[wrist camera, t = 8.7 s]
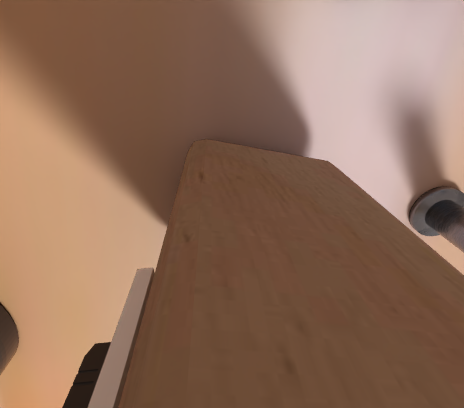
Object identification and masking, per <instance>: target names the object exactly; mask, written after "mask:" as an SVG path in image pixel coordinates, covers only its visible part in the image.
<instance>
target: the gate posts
mask: <svg viewBox="0 0 464 408" xmlns="http://www.w3.org/2000/svg"><path fill="white" fill-rule="evenodd" d="M409 221H410V224H411V226H412V227H413V228H414V229H415V230H416V231H418V232H419V233H420V234H422V235H425V236H437V235H441V236H443V237H444V238H445V239H447V240H448V241H449V242H451V243H452V244H453V245H455V246H456V247H457V248H459V249H460V250H461V251H463V252H464V193H462V192H461V191H459V190H457V189H455V188H453V187H448V186H443V187H438V188H434V189H432V190H430V191H428V192H426V193H425V194H423V195H422V196H421V197H420V198H419V199H418V200H417V201H416V202H415V203H414V205H413V206H412V208H411V211H410V215H409Z"/></svg>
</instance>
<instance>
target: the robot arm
mask: <svg viewBox="0 0 464 408" xmlns="http://www.w3.org/2000/svg"><path fill="white" fill-rule="evenodd" d="M154 275H155V273H154V269H153V268H144V269H137V272H136V275H135V278H134V280H133V283H132V286H131V289H130V292H129V294H128V297H127V300H126V303H125V305H124V308H123V311H122V314H121V317H120V319H119V322H118V325H117V328H116V330H115V333H114V336H113V339H112V341H111V342H107V343H97V344H94V346H93V347H92V348H91V349H90V351H89V352H88V353H87V354H86V355H85V357H84V359H83V361H82V364H81V366H80V368H79V371H78V374H77V375H76V377H75V380H74V382H73V386H72V387H71V389H70V391H69V394H68V396H67V398H66V400H65V403H64V405H63V407H62V408H118V407H119V403H120V400H121V396H122V392H123V389H124V385H125V381H126V378H127V374H128V370H129V367H130V363H131V359H132V356H133V352H134V348H135V345H136V341H137V337H138V334H139V330H140V326H141V323H142V319H143V315H144V311H145V308H146V304H147V300H148V297H149V293H150V289H151V286H152V282H153V278H154ZM18 343H19V337H18V331H17V328H16V326H15V324H14V322H13V320H12V318H11V317H10V315H9V314H8V313H7V312H6V310H5V309H4V308H3V307H2V306H1V305H0V375H1V373H2V372H3V370H4V369H5V368H6V366H7V365H8V363H9V362H10V360H11V359H12V357H13V356H14V354H15V353H16V350H17V348H18Z"/></svg>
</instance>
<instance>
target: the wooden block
mask: <svg viewBox="0 0 464 408" xmlns="http://www.w3.org/2000/svg"><path fill="white" fill-rule="evenodd" d="M118 408H464V275H463V274H462V273H460V272H459V271H458V270H457V269H456V268H454V267H453V266H452V265H451V264H450V263H449V262H447V261H446V260H445V259H444V258H443V257H442V256H440V255H439V254H438V253H437V252H436V251H434V250H433V249H432V248H431V247H430V246H429V245H427V244H426V243H425V242H424V241H423V240H422V239H420V238H419V237H418V236H417V235H416V234H414V233H413V232H412V231H411V230H410V229H409V228H407V227H406V226H405V225H404V224H403V223H402V222H400V221H399V220H398V219H397V218H396V217H394V216H393V215H392V214H391V213H390V212H389V211H387V210H386V209H385V208H384V207H383V206H382V205H380V204H379V203H378V202H377V201H376V200H374V199H373V198H372V197H371V196H370V195H369V194H367V193H366V192H365V191H364V190H363V189H361V188H360V187H359V186H358V185H357V184H356V183H354V182H353V181H352V180H351V179H350V178H349V177H347V176H346V175H345V174H344V173H343V172H341V171H340V170H339V169H338V168H337V167H335V166H334V165H333V164H331V163H330V162H328V161H324V160H319V159H313V158H308V157H303V156H297V155H292V154H286V153H281V152H275V151H270V150H264V149H259V148H253V147H248V146H242V145H237V144H231V143H226V142H220V141H215V140H209V139H204V140H199V141H194V143H193V144H192V146H191V148H190V149H189V151H188V153H187V157H186V161H185V164H184V168H183V172H182V175H181V179H180V183H179V186H178V190H177V194H176V197H175V201H174V205H173V208H172V212H171V216H170V219H169V223H168V227H167V230H166V234H165V238H164V242H163V245H162V249H161V253H160V256H159V260H158V264H157V267H156V271H155V275H154V278H153V282H152V286H151V289H150V293H149V297H148V300H147V304H146V308H145V311H144V315H143V319H142V323H141V326H140V330H139V334H138V337H137V341H136V345H135V348H134V352H133V356H132V359H131V363H130V367H129V370H128V374H127V378H126V381H125V385H124V389H123V392H122V396H121V400H120V403H119V407H118Z"/></svg>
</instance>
